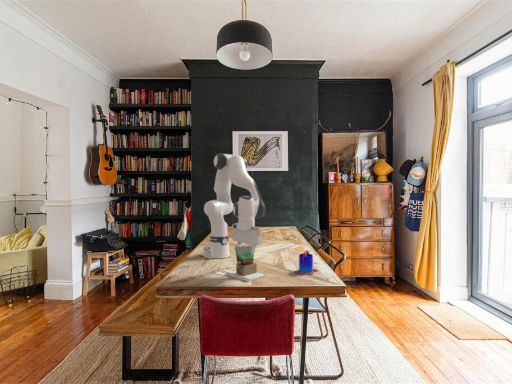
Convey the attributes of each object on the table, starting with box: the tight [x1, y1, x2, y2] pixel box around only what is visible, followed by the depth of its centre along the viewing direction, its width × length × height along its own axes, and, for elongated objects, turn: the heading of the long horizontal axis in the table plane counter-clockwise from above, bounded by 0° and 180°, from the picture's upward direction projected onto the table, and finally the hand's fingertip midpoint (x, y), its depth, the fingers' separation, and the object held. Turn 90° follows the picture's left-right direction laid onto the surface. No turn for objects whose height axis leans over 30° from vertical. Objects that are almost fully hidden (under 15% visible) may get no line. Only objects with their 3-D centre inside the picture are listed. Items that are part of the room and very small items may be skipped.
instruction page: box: [214, 269, 232, 276], centre depth 174 cm, size 6×9×1 cm, turn 144°
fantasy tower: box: [293, 250, 319, 276], centre depth 175 cm, size 12×12×12 cm
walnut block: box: [235, 262, 258, 276], centre depth 168 cm, size 6×9×5 cm
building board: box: [225, 269, 269, 283], centre depth 168 cm, size 18×14×2 cm
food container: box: [234, 244, 255, 265], centre depth 168 cm, size 12×6×10 cm, turn 122°
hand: (246, 251), depth 168 cm, fingers open, 8 cm apart
